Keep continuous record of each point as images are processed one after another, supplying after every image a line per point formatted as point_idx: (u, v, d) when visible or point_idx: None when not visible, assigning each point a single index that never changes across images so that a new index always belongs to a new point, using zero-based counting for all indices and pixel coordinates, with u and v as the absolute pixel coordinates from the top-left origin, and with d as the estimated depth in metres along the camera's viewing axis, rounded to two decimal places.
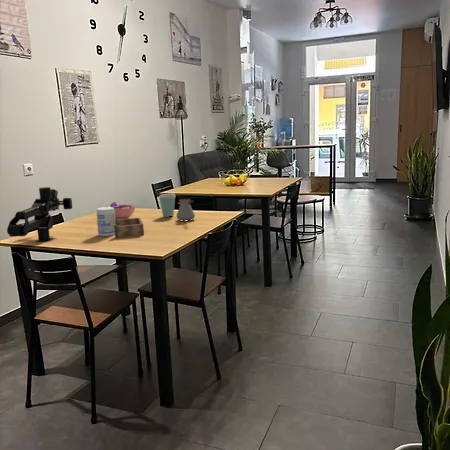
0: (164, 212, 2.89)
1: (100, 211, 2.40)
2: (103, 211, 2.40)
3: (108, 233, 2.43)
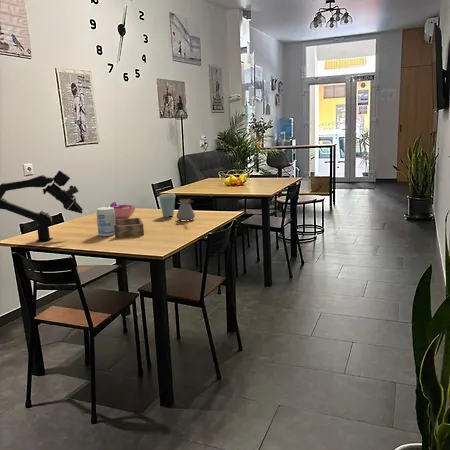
0: (164, 212, 2.89)
1: (100, 211, 2.40)
2: (103, 211, 2.40)
3: (108, 233, 2.43)
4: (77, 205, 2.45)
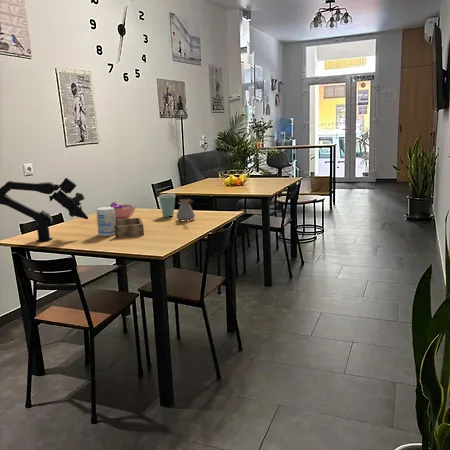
0: (164, 212, 2.89)
1: (100, 211, 2.40)
2: (103, 211, 2.40)
3: (108, 233, 2.43)
4: None
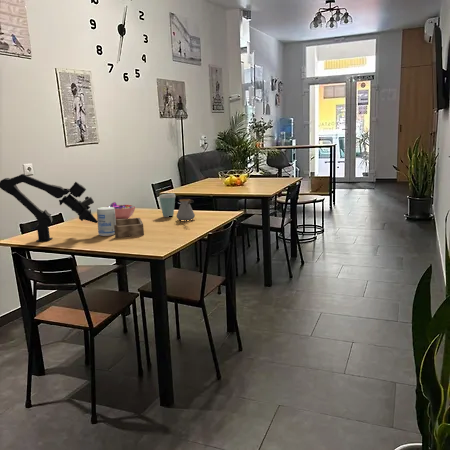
0: (164, 212, 2.89)
1: (100, 211, 2.40)
2: (103, 211, 2.40)
3: (108, 233, 2.43)
4: None
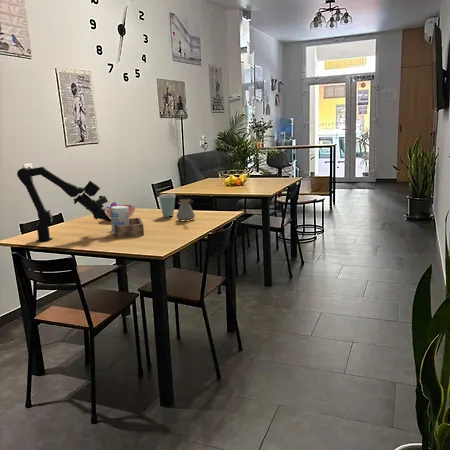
0: (164, 212, 2.89)
1: (114, 210, 2.42)
2: (117, 210, 2.42)
3: None
4: None
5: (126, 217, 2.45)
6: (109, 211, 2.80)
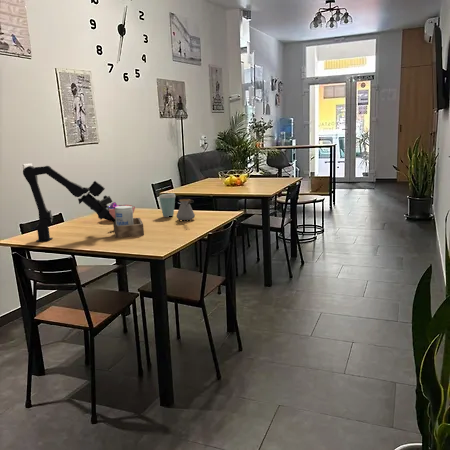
0: (164, 212, 2.89)
1: (118, 210, 2.43)
2: (121, 210, 2.42)
3: None
4: None
5: (130, 217, 2.45)
6: (109, 211, 2.80)
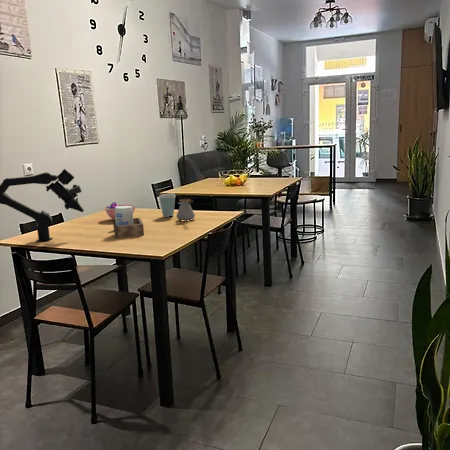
0: (164, 212, 2.89)
1: (118, 210, 2.43)
2: (121, 210, 2.42)
3: None
4: None
5: (130, 217, 2.45)
6: (109, 211, 2.80)
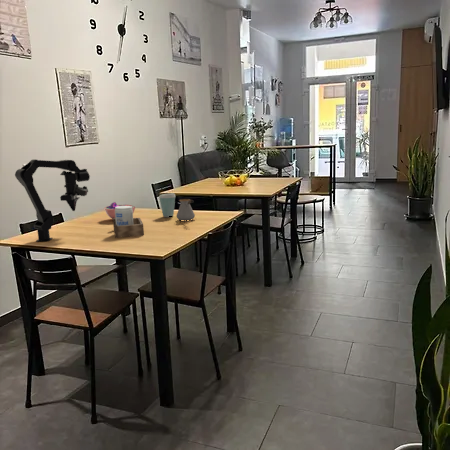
0: (164, 212, 2.89)
1: (118, 210, 2.43)
2: (121, 210, 2.42)
3: None
4: None
5: (130, 217, 2.45)
6: (109, 211, 2.80)
